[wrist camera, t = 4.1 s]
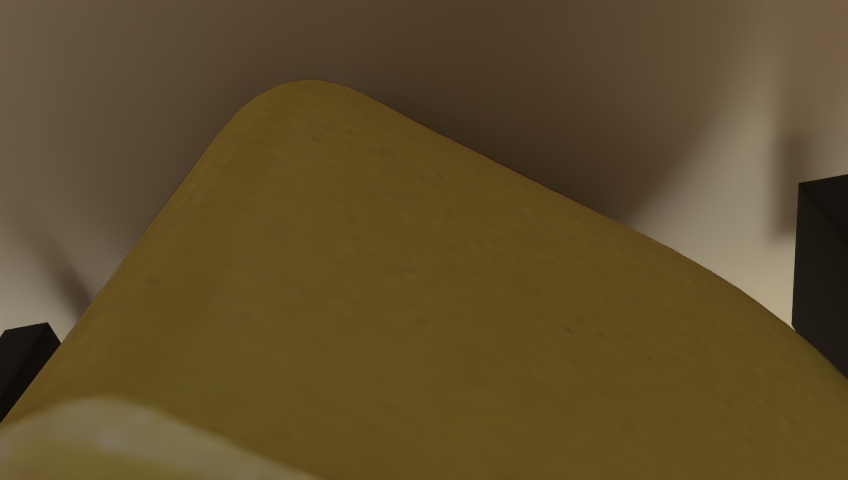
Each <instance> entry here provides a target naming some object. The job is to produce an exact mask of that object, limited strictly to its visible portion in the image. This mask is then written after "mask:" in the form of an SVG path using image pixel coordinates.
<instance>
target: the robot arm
mask: <svg viewBox="0 0 848 480" xmlns="http://www.w3.org/2000/svg"><path fill="white" fill-rule="evenodd" d="M792 326H793V328H794V329H795V331H796V332H797V333H798V334H799V335H800V336H802V337H803V338H804V339H805V340H806V341H807V342H809V343H810V344H811V345H812V346H813V347H815V348H816V349H817V350H818V351H819V352H820V353H821V354H822V355H823V356H824V357H825V358H826V359H827V360H828V361H829V362H830V363H831V364H832V365H834V366H835V367H836V368H837V369H838V370H839V371H840V372H841V373H842V374H843V375H844V376H845V377H846V378H847V379H848V174H846V175H841V176H835V177H830V178H824V179H819V180H814V181H808V182H803V183H799V187H798V206H797V226H796V246H795V266H794V286H793V306H792ZM60 345H61V343H60V341H59V339H58V338H57V336H56V335H55V333H54V331H53V330H52V328H51V327H50V325H49V323H48V322H46V323H41V324H35V325H30V326H25V327H19V328H14V329H8V330H5V331H4V332H3V334H2V335H1V337H0V423H1V422H2V421H3V419H4V418H5V417H6V415H7V414H8V413H9V412H10V410H11V409H12V408H13V406H14V405H15V404H16V402H17V401H18V400H19V398H20V397H21V396H22V394H23V393H24V392H25V391H26V389H27V388H28V387H29V385H30V384H31V383H32V381H33V380H34V379H35V377H36V376H37V375H38V373H39V372H40V371H41V370H42V368H43V367H44V366H45V364H46V363H47V362H48V360H49V359H50V358H51V356H52V355H53V354H54V352H55V351H56V350H57V349H58V347H59V346H60Z"/></svg>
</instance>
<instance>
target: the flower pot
mask: <svg viewBox="0 0 848 480" xmlns="http://www.w3.org/2000/svg"><path fill="white" fill-rule="evenodd" d="M0 480H848V379H847V378H846V377H845V376H844V375H843V374H842V373H841V372H840V371H839V370H838V369H837V368H836V367H835V366H834V365H832V364H831V363H830V362H829V361H828V360H827V359H826V358H825V357H824V356H823V355H822V354H821V353H820V352H819V351H818V350H817V349H816V348H815V347H813V346H812V345H811V344H810V343H809V342H807V341H806V340H805V339H804V338H803V337H802V336H800V335H799V334H798V333H797V332H796V331H794V330H793V329H792V328H791V327H790V326H789V325H787V324H786V323H785V322H783V321H782V320H781V319H779V318H778V317H777V316H775V315H774V314H773V313H772V312H770V311H769V310H768V309H766V308H765V307H764V306H762V305H761V304H760V303H758V302H757V301H756V300H754V299H753V298H751V297H750V296H749V295H747V294H746V293H745V292H743V291H742V290H740V289H739V288H737V287H736V286H734V285H732V284H731V283H729V282H728V281H726V280H724V279H723V278H721V277H720V276H718V275H716V274H715V273H713V272H712V271H710V270H708V269H706V268H705V267H703V266H701V265H699V264H698V263H696V262H694V261H692V260H690V259H689V258H687V257H685V256H683V255H682V254H680V253H678V252H676V251H674V250H673V249H671V248H669V247H667V246H665V245H663V244H661V243H659V242H657V241H655V240H653V239H651V238H649V237H647V236H645V235H643V234H641V233H639V232H637V231H635V230H633V229H631V228H629V227H627V226H625V225H622V224H620V223H618V222H616V221H614V220H612V219H610V218H608V217H606V216H604V215H602V214H600V213H598V212H596V211H593V210H591V209H589V208H587V207H585V206H583V205H581V204H579V203H577V202H575V201H573V200H571V199H569V198H567V197H565V196H563V195H561V194H559V193H556V192H554V191H552V190H550V189H548V188H546V187H544V186H542V185H540V184H538V183H536V182H534V181H532V180H530V179H528V178H526V177H524V176H522V175H520V174H518V173H516V172H514V171H512V170H510V169H508V168H506V167H504V166H503V165H501V164H499V163H497V162H495V161H493V160H491V159H489V158H487V157H485V156H483V155H481V154H479V153H477V152H475V151H473V150H471V149H469V148H467V147H465V146H463V145H461V144H459V143H457V142H455V141H453V140H451V139H449V138H447V137H445V136H443V135H441V134H439V133H437V132H435V131H433V130H431V129H429V128H427V127H425V126H423V125H421V124H419V123H417V122H415V121H413V120H411V119H410V118H408V117H406V116H404V115H402V114H400V113H398V112H397V111H395V110H393V109H391V108H389V107H387V106H385V105H383V104H382V103H380V102H378V101H376V100H374V99H372V98H370V97H368V96H366V95H364V94H362V93H360V92H357V91H355V90H352V89H350V88H348V87H345V86H343V85H339V84H336V83H333V82H328V81H321V80H297V81H292V82H288V83H284V84H280V85H277V86H275V87H273V88H271V89H269V90H267V91H265V92H263V93H261V94H259V95H258V96H257V97H255V98H254V99H253V100H251V101H250V102H249V103H247V104H246V105H245V106H244V107H242V108H241V109H240V110H239V111H238V112H237V113H236V114H235V115H234V116H233V118H232V119H231V120H230V121H229V122H228V123H227V125H226V126H225V127H224V128H223V129H222V130H221V132H220V133H219V134H218V135H217V136H216V137H215V139H214V140H213V141H212V143H211V144H210V145H209V147H208V148H207V150H206V151H205V152H204V154H203V155H202V156H201V158H200V159H199V161H198V162H197V163H196V165H195V166H194V167H193V169H192V170H191V171H190V173H189V174H188V175H187V177H186V178H185V179H184V181H183V182H182V183H181V185H180V186H179V187H178V189H177V190H176V191H175V193H174V194H173V195H172V196H171V198H170V199H169V200H168V202H167V203H166V204H165V206H164V207H163V208H162V210H161V211H160V212H159V214H158V215H157V216H156V218H155V219H154V220H153V222H152V223H151V224H150V226H149V227H148V228H147V230H146V231H145V232H144V234H143V235H142V236H141V238H140V239H139V240H138V242H137V243H136V245H135V246H134V247H133V249H132V250H131V251H130V253H129V254H128V255H127V257H126V258H125V259H124V261H123V262H122V263H121V265H120V266H119V267H118V269H117V270H116V271H115V273H114V274H113V275H112V277H111V278H110V279H109V281H108V282H107V283H106V285H105V286H104V287H103V289H102V290H101V291H100V293H99V294H98V295H97V297H96V298H95V299H94V301H93V302H92V303H91V305H90V306H89V307H88V309H87V310H86V311H85V313H84V314H83V315H82V317H81V318H80V320H79V321H78V322H77V324H76V325H75V326H74V328H73V329H72V330H71V331H70V333H69V334H68V335H67V337H66V338H65V339H64V341H63V342H62V343H61V345H60V346H59V347H58V349H57V350H56V351H55V352H54V354H53V355H52V356H51V358H50V359H49V360H48V362H47V363H46V364H45V366H44V367H43V368H42V370H41V371H40V372H39V373H38V375H37V376H36V377H35V379H34V380H33V381H32V383H31V384H30V385H29V387H28V388H27V389H26V391H25V392H24V393H23V394H22V396H21V397H20V398H19V400H18V401H17V402H16V404H15V405H14V406H13V408H12V409H11V410H10V412H9V413H8V414H7V415H6V417H5V418H4V419H3V421H2V422H1V423H0Z"/></svg>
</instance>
